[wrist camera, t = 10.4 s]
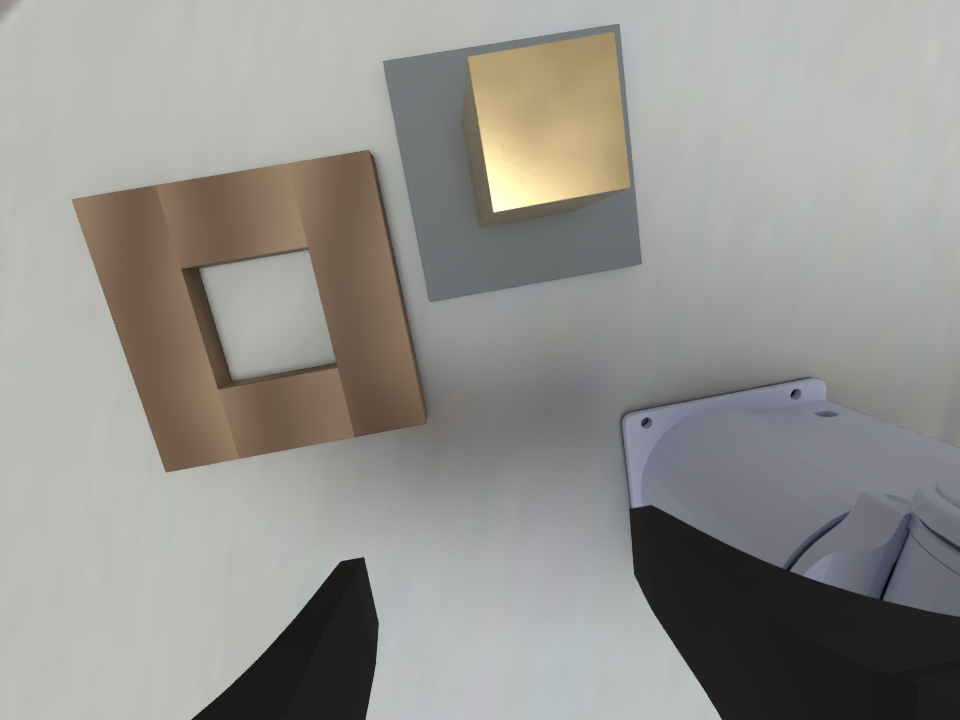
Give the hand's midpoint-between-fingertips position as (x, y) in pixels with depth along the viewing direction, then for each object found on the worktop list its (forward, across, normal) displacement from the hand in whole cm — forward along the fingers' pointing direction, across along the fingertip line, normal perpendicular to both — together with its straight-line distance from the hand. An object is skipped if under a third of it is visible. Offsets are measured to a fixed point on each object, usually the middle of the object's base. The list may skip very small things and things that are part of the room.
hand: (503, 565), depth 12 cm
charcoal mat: (+9, -3, -11) cm, 15 cm away
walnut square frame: (+9, +8, -7) cm, 14 cm away
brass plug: (+8, -3, -11) cm, 14 cm away
